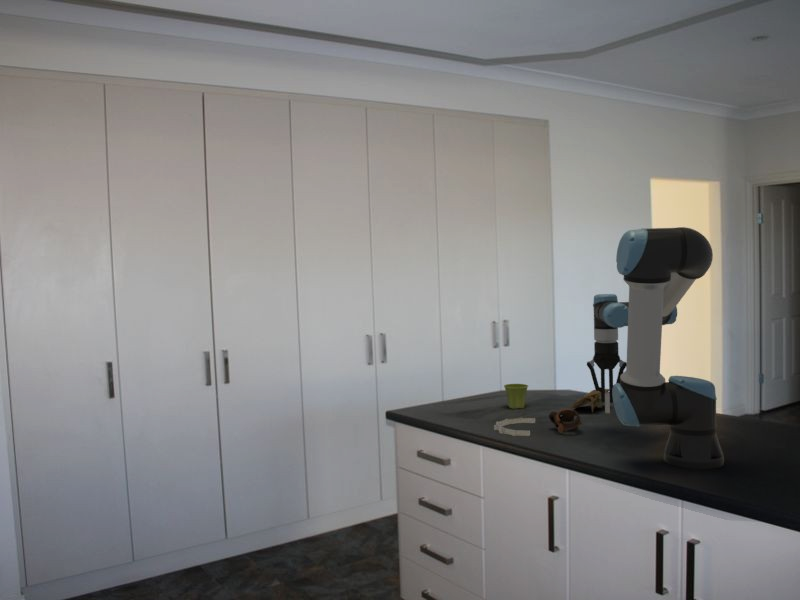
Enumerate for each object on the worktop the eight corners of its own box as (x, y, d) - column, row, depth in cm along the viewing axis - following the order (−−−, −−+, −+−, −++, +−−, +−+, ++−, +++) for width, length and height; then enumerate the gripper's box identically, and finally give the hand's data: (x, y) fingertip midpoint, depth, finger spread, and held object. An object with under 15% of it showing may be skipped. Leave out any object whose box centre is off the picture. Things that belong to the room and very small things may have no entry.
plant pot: (511, 404, 271) (510, 382, 270) (532, 406, 265) (532, 384, 265) (500, 408, 263) (499, 386, 263) (522, 410, 258) (521, 388, 257)
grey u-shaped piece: (529, 436, 219) (529, 432, 219) (490, 435, 223) (490, 430, 223) (535, 421, 239) (535, 417, 239) (499, 420, 243) (499, 416, 242)
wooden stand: (584, 420, 262) (577, 401, 265) (619, 408, 256) (611, 389, 259) (570, 419, 247) (562, 399, 250) (607, 405, 241) (599, 385, 244)
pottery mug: (587, 430, 225) (586, 411, 221) (574, 447, 219) (572, 429, 215) (555, 418, 232) (553, 400, 228) (541, 435, 227) (539, 416, 223)
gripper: (626, 339, 222) (627, 410, 224) (585, 339, 226) (587, 409, 227) (627, 342, 215) (628, 415, 217) (585, 342, 219) (586, 414, 220)
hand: (607, 412), depth 222 cm, fingers closed
